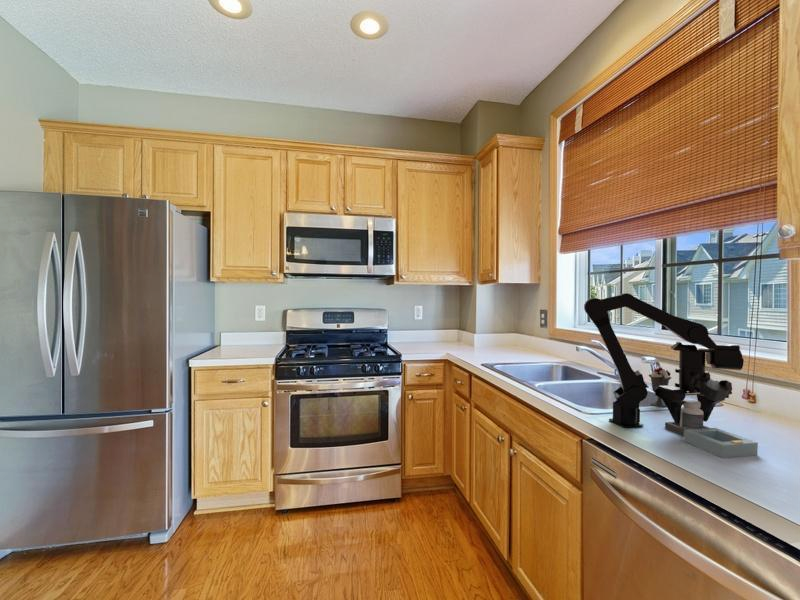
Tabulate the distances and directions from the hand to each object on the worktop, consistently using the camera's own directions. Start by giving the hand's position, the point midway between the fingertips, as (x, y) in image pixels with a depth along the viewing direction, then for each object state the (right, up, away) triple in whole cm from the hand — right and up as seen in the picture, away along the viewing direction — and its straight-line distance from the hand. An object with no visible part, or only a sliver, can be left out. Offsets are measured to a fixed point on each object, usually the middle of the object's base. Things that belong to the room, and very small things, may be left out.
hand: (690, 422), depth 103 cm
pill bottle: (0, -3, 0) cm, 3 cm away
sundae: (+9, -3, +25) cm, 27 cm away
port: (-1, -3, -10) cm, 11 cm away
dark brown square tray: (0, -3, 0) cm, 3 cm away
